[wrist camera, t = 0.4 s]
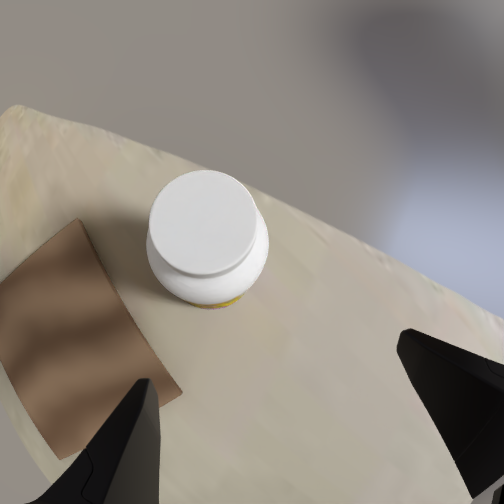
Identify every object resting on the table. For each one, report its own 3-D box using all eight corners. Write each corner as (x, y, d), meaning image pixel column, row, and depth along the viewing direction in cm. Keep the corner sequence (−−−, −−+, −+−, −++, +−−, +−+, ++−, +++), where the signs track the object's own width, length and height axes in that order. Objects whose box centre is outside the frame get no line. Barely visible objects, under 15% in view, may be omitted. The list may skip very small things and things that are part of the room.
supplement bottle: (158, 281, 24) (96, 240, 11) (201, 218, 25) (185, 128, 13) (224, 325, 23) (226, 331, 11) (266, 259, 25) (308, 198, 13)
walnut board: (182, 391, 22) (181, 394, 21) (63, 456, 18) (59, 460, 17) (81, 221, 24) (77, 218, 23) (-15, 305, 21) (-20, 304, 20)
